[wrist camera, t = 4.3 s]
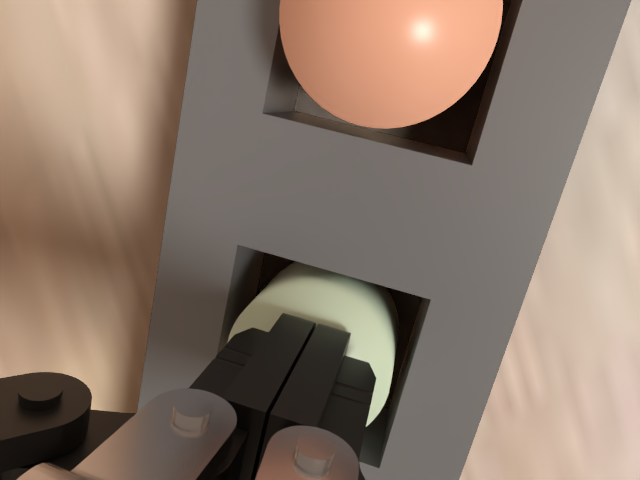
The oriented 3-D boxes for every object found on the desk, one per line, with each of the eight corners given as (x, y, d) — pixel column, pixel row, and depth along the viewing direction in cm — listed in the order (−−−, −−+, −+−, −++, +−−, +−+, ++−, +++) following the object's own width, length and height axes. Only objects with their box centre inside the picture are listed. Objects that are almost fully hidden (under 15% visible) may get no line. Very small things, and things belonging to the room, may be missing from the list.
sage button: (378, 405, 14) (367, 464, 12) (248, 364, 15) (213, 413, 12) (416, 278, 13) (412, 316, 11) (274, 238, 14) (241, 266, 11)
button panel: (369, 668, 17) (358, 761, 15) (145, 582, 18) (101, 656, 16) (642, -131, 11) (701, -197, 8) (276, -192, 12) (236, -266, 9)
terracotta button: (458, 141, 11) (463, 151, 9) (294, 101, 12) (260, 101, 10) (514, -46, 10) (535, -87, 8) (332, -82, 11) (304, -130, 9)
